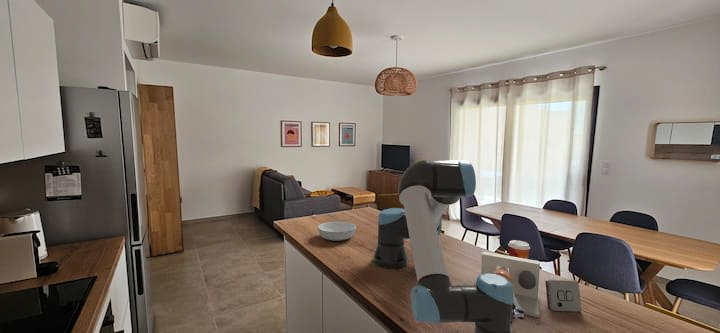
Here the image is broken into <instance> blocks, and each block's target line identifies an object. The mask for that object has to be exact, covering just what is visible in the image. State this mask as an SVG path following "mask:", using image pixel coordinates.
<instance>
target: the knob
mask: <svg viewBox="0 0 720 333" xmlns="http://www.w3.org/2000/svg"><path fill="white" fill-rule="evenodd" d="M493 274H496V275H500V276H502V277H504V278H506V279H507V280H508V281H510V283H512V278H511V276H510V274H509V268H506V267H501V266H498V269H496V271H494V273H493Z"/></svg>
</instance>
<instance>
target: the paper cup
mask: <svg viewBox="0 0 720 333" xmlns="http://www.w3.org/2000/svg"><path fill="white" fill-rule="evenodd" d="M507 245H508V256H512V257H518V258H524V259H529V253H530V250H531V247H530V244H529V243H528V242H527V241H522V240H518V239H517V240H515V239H512V240H510V241H509V243H507ZM508 273H509V274H510V268H508Z"/></svg>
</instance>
